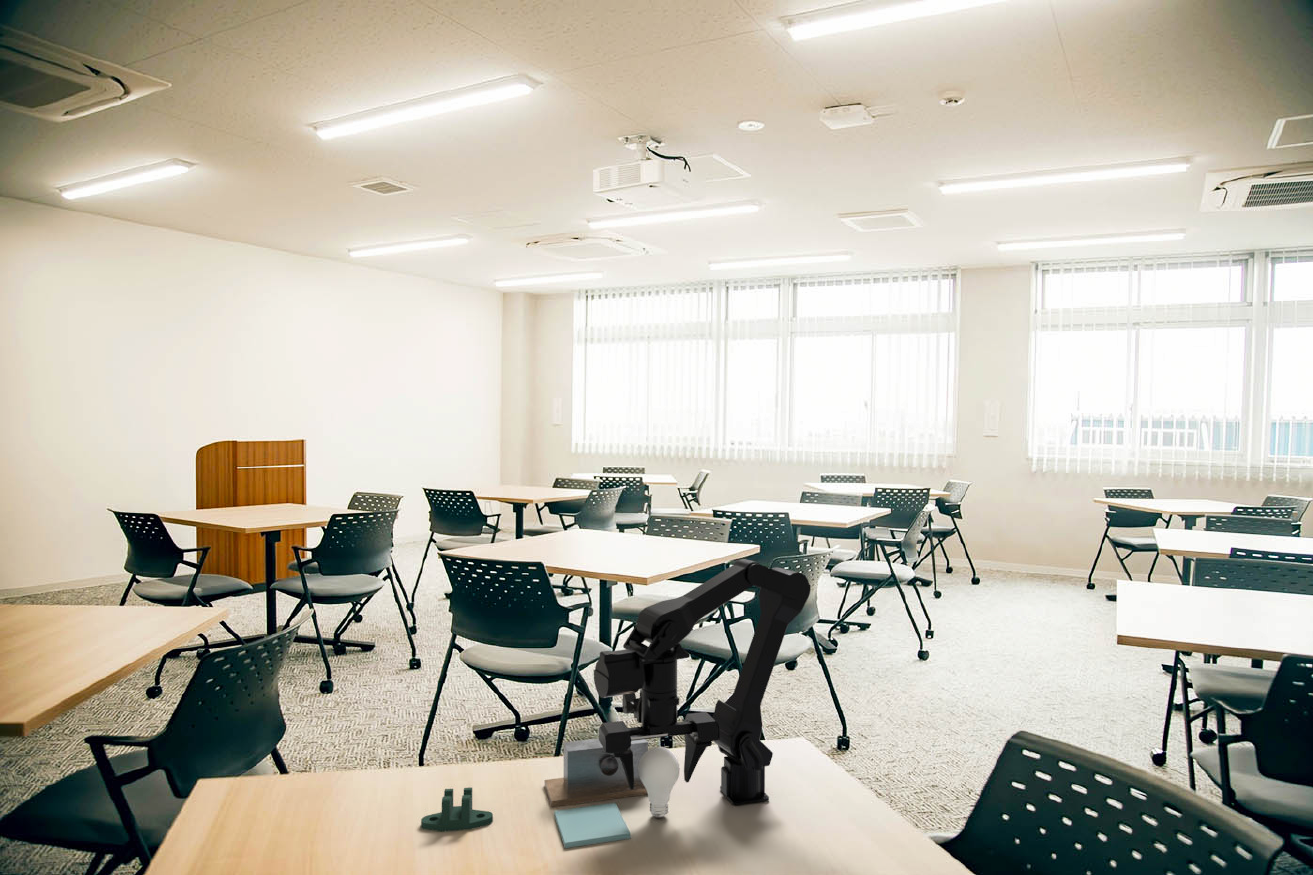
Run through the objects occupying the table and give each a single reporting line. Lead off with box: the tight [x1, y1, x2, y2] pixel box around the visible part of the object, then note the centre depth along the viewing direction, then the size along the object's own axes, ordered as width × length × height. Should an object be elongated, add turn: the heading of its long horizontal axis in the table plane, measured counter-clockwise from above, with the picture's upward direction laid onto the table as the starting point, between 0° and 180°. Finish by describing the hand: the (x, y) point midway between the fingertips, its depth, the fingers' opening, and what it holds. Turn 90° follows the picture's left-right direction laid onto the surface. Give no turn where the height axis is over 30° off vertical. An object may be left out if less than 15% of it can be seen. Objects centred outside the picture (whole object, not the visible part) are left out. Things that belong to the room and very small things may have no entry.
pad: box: [553, 802, 631, 849], centre depth 119 cm, size 10×10×1 cm
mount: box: [420, 786, 494, 833], centre depth 120 cm, size 11×4×5 cm, turn 98°
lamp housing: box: [544, 737, 649, 808], centre depth 132 cm, size 20×8×8 cm, turn 106°
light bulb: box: [638, 746, 681, 819], centre depth 123 cm, size 7×7×11 cm
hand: (659, 785), depth 123 cm, fingers open, 9 cm apart
